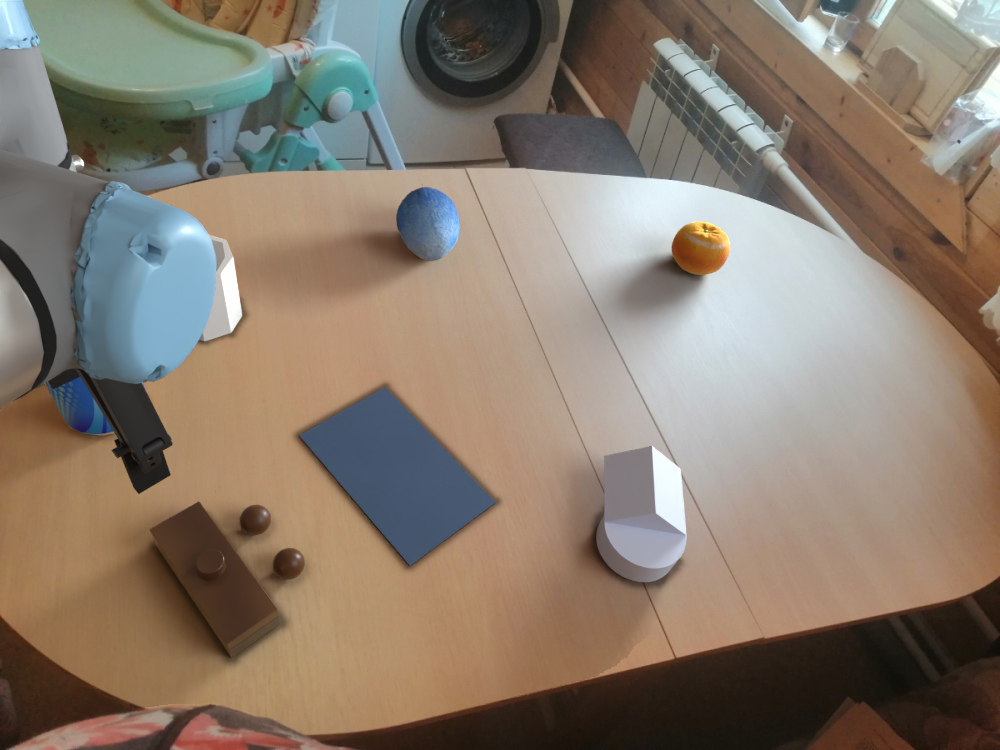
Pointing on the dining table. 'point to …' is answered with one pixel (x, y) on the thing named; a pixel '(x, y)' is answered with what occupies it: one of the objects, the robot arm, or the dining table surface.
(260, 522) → the ball
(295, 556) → the ball
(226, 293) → the mug
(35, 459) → the dining table surface
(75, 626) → the dining table surface
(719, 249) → the fruit
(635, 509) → the wedge on round base
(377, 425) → the mat
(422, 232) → the egg
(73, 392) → the beer can
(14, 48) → the robot arm
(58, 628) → the dining table surface
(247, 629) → the brown block with knob
